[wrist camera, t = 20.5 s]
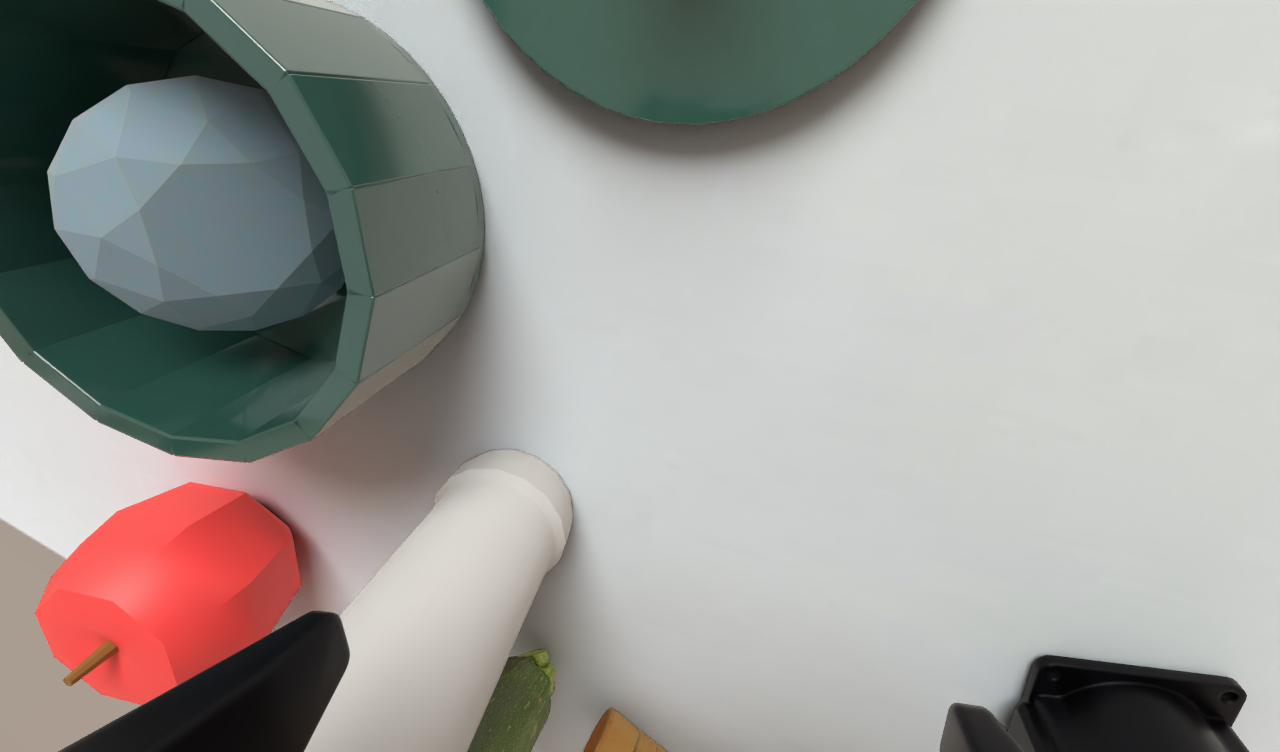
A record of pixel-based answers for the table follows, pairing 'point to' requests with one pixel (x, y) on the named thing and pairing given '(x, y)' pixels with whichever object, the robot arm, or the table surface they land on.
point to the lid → (695, 50)
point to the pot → (343, 163)
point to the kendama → (619, 736)
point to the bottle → (447, 610)
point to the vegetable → (517, 705)
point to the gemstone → (195, 206)
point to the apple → (169, 591)
